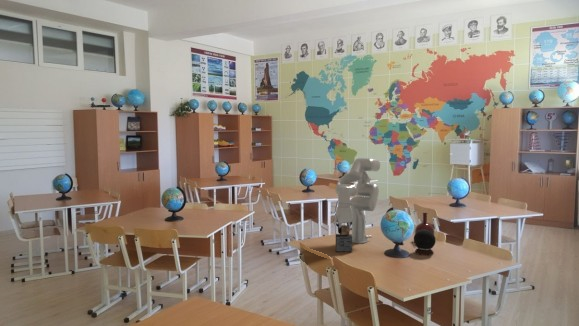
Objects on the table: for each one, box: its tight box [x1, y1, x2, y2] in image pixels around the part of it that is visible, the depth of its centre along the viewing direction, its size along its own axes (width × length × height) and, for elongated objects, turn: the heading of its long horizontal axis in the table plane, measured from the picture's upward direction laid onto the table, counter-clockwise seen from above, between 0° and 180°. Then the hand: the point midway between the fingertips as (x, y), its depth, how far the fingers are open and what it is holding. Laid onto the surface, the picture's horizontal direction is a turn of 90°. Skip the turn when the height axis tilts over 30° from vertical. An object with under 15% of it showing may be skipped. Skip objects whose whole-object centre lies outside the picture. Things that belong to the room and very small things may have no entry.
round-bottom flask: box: [414, 212, 436, 235], centre depth 289 cm, size 13×13×20 cm
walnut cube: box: [338, 224, 350, 235], centre depth 268 cm, size 5×5×5 cm
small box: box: [335, 233, 353, 253], centre depth 268 cm, size 11×6×10 cm, turn 84°
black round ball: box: [413, 229, 437, 256], centre depth 262 cm, size 13×13×15 cm
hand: (343, 232), depth 268 cm, fingers closed on walnut cube, 5 cm apart
